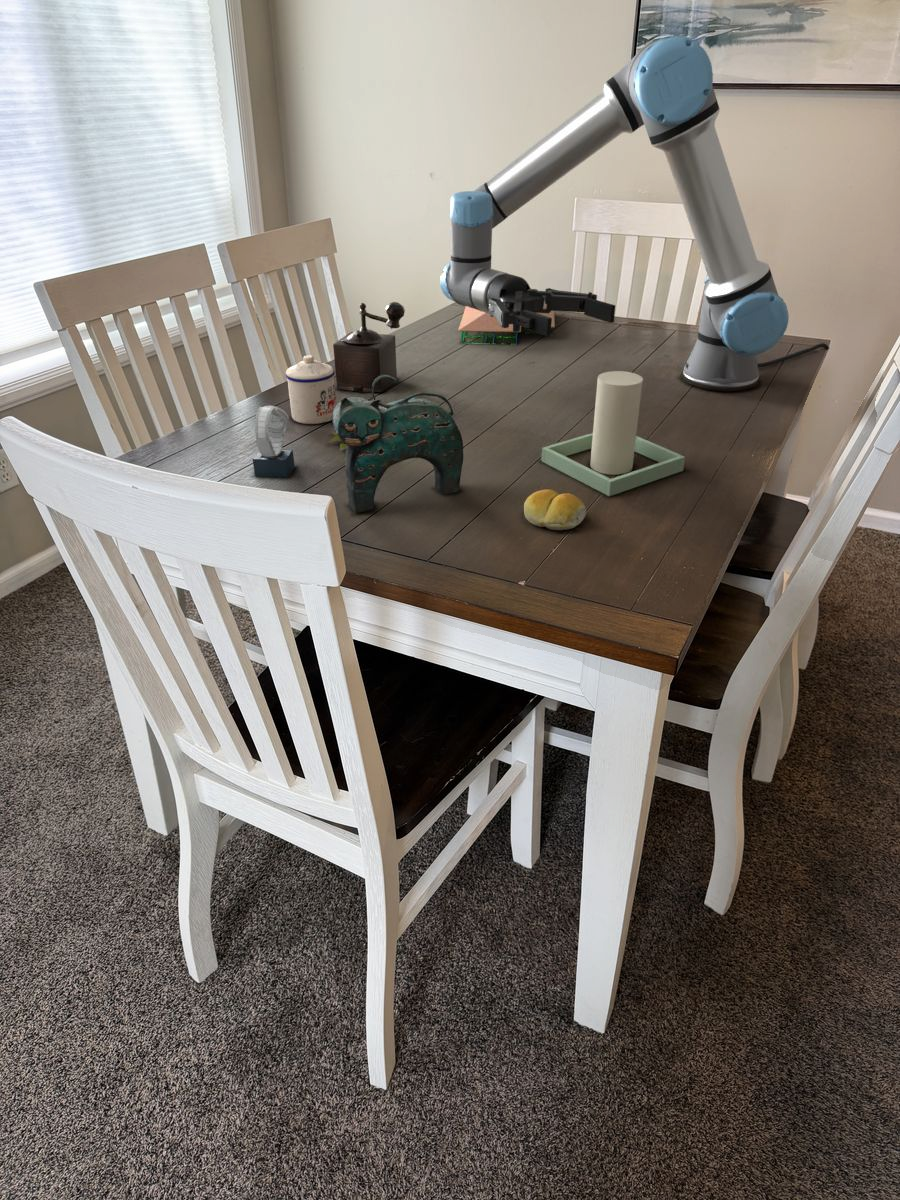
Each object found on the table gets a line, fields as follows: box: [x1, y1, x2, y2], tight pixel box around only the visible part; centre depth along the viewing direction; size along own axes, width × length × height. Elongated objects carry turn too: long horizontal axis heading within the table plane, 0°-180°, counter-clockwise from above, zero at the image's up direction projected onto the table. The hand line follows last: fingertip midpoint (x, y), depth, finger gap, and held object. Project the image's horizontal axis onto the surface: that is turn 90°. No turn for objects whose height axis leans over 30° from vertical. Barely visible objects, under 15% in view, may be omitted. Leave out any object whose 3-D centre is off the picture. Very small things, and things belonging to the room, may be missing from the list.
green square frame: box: [541, 432, 686, 497], centre depth 138 cm, size 17×17×2 cm
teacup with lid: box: [285, 354, 337, 425], centre depth 157 cm, size 12×9×12 cm
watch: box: [252, 405, 296, 479], centre depth 135 cm, size 6×8×11 cm
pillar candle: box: [589, 370, 644, 476], centre depth 134 cm, size 7×7×15 cm
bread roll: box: [523, 489, 587, 531], centre depth 122 cm, size 8×9×4 cm
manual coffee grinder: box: [332, 301, 406, 393], centre depth 170 cm, size 16×11×18 cm
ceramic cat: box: [332, 375, 465, 514], centre depth 124 cm, size 20×6×20 cm, turn 114°
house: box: [457, 301, 555, 345], centre depth 209 cm, size 23×33×8 cm
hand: (582, 320), depth 133 cm, fingers open, 13 cm apart
